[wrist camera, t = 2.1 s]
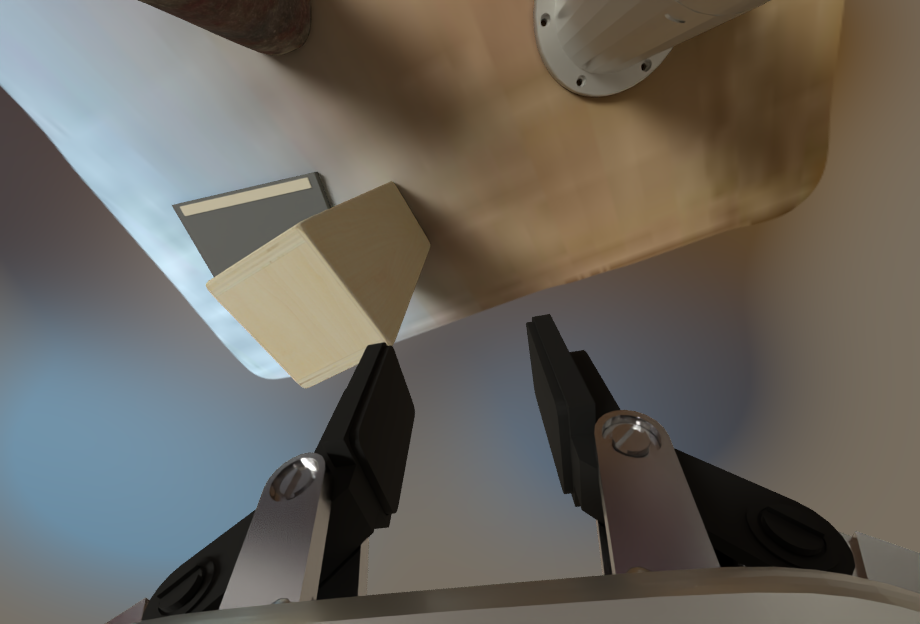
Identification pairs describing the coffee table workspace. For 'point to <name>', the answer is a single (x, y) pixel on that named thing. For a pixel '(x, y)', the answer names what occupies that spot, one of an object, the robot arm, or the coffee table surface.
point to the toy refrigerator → (329, 284)
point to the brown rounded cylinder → (247, 21)
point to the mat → (249, 217)
